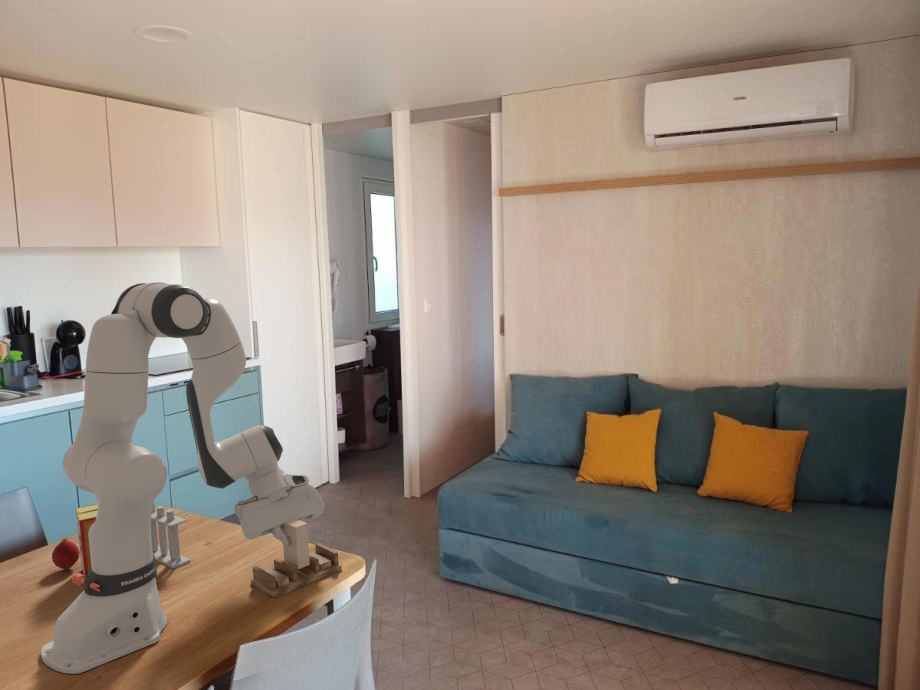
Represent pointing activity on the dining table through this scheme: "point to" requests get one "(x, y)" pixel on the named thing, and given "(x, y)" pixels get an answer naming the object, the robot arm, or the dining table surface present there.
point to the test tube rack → (162, 552)
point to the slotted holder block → (296, 572)
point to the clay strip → (296, 543)
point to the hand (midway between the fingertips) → (297, 541)
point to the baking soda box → (85, 533)
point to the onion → (65, 554)
